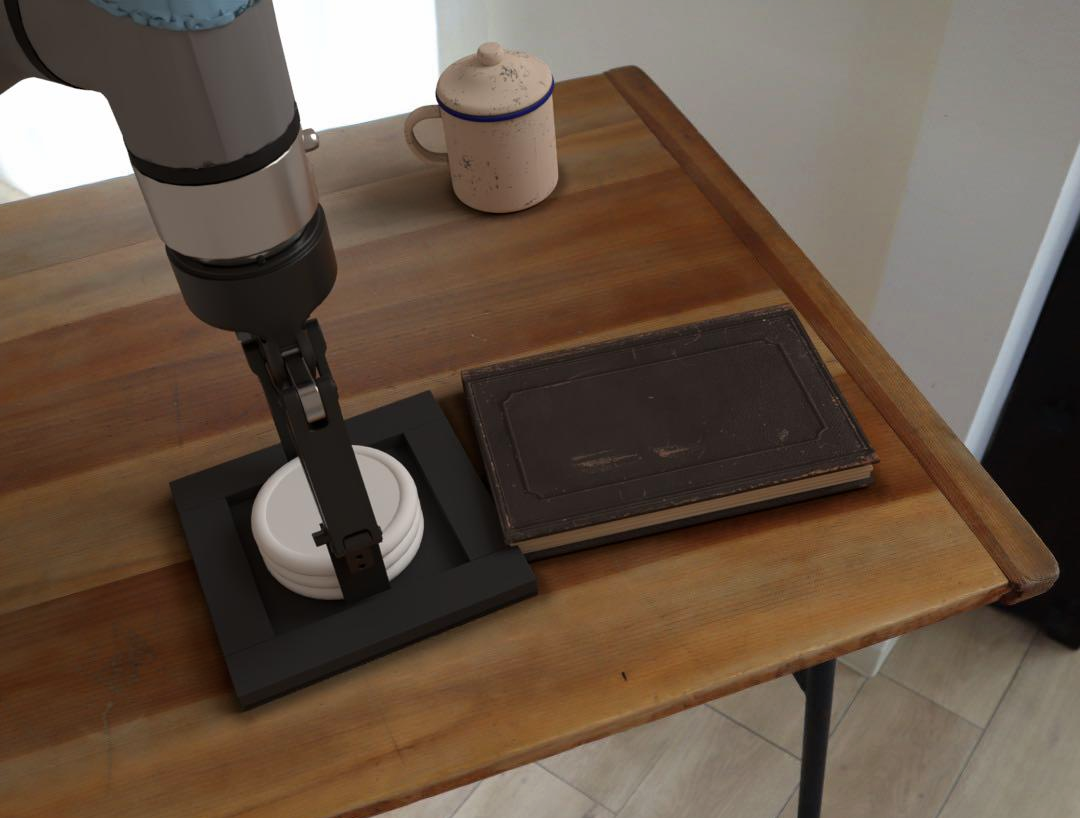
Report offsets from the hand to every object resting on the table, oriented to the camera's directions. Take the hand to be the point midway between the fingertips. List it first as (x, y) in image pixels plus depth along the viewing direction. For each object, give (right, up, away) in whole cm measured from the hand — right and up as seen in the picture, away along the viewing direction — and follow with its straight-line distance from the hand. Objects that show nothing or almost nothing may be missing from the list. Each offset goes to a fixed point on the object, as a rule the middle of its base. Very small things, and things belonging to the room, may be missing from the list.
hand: (338, 525), depth 71 cm
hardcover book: (+20, +6, +5) cm, 21 cm away
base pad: (0, -1, +1) cm, 2 cm away
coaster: (0, -1, +1) cm, 2 cm away
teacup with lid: (+8, +28, +25) cm, 38 cm away
